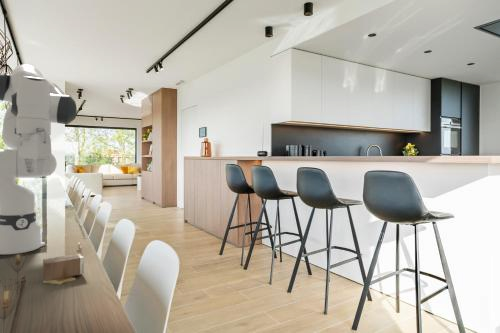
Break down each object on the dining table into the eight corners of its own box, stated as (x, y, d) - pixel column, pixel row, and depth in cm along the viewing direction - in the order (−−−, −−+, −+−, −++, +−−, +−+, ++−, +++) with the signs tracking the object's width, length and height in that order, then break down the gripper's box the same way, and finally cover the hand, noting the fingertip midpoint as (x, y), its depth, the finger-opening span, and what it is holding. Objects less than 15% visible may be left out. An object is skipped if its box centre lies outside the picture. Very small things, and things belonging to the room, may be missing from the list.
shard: (70, 272, 104) (70, 267, 104) (91, 274, 103) (91, 269, 103) (42, 285, 94) (42, 279, 94) (64, 287, 92) (64, 281, 92)
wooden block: (42, 259, 96) (80, 253, 103) (42, 276, 96) (79, 269, 103) (45, 263, 92) (83, 257, 99) (45, 281, 93) (83, 273, 99)
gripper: (57, 128, 95) (57, 175, 96) (35, 131, 109) (35, 172, 109) (32, 126, 91) (32, 175, 91) (12, 129, 104) (12, 172, 104)
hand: (33, 173), depth 100 cm, fingers open, 8 cm apart
